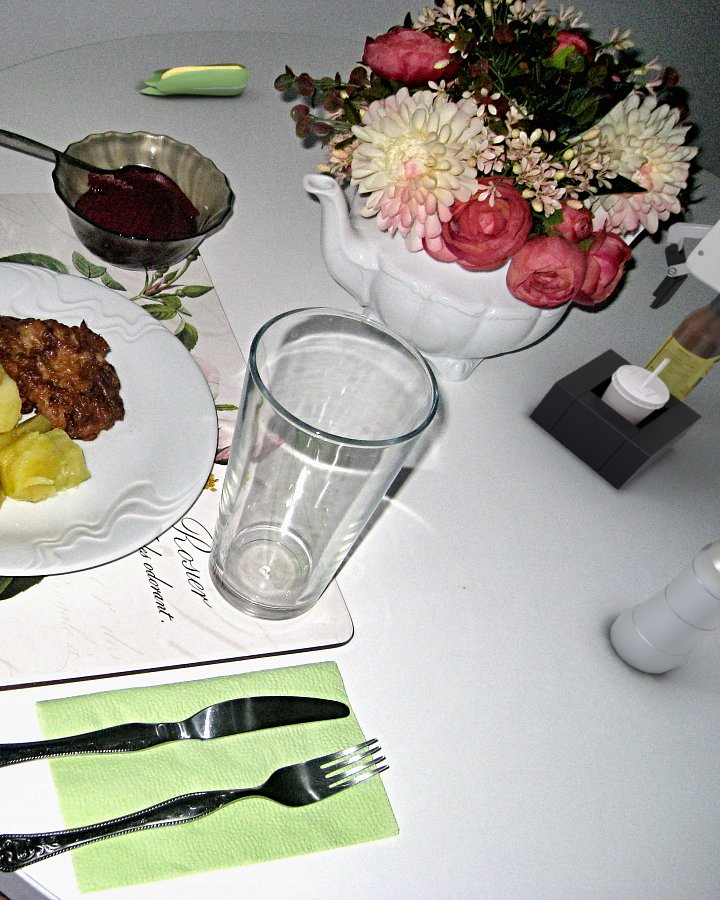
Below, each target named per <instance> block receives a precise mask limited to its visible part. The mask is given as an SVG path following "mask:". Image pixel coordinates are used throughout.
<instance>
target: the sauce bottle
mask: <svg viewBox="0 0 720 900" xmlns="http://www.w3.org/2000/svg"><path fill="white" fill-rule="evenodd" d="M665 358H669V359H670V362H669V363H668V364H667V365H666V366H665V367H664V368H663V370H662V371H661V372H660V373H659V374H658V375H657V377H658V378H660V379H661V380H662V381H663V382H664V384H665V385H666V386H667V388H668V390H669V392H670V393H671V394H672V395H674V396H675V397H676V398H678V399H679V400H680V401H682V402H683V403H684V401H685V400H686V398H687V397H689V395H690V394H691V393H692V392H693V391H694V390H695V388H697V386H698V385H699V384H701V382H702V381H703V380H704V379H705V378H706V377H707V375H708V374H709V373H710V372H711V371H712V370H713V369H714V367H716V365H717V364H718V363H719V362H720V293H719V292H718V294H717V295H716V296H715V297H714V298H712V300H711V301H710V302H709V303H708V304H706V305H705V306H702V307H700V308H696V309H694V310H692V311H690V313H688V314H687V315H686V316H685V317H684V318H683V320H682V321H681V322H680V323H679V325H678V326H677V327H676V328H675V329H673V330H672V332H671V333H670V334H669V335H668V337H667V338H665V340H664V341H663V342H662V343H661V344H660V346H659V347H658V349H656V351H655V352H654V353H653V355H652V356H651V357H650V358H649V359H648V361H647V362H646V363H645V364H644V365H643V366H642V368H644V369H646V370H648V371H650V372H652V373H653V372H654V371H655V370H656V368H657V367H658V366H659V365H660V364H661V363H662V362H663V361H664V359H665Z"/></svg>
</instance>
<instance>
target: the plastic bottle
mask: <svg viewBox="0 0 720 900" xmlns="http://www.w3.org/2000/svg"><path fill="white" fill-rule="evenodd" d="M718 629H720V539H719V540H715V541H713V542H710V543H707V544H706V545H704V546H703V547H702V548H701V549H700V550H699V551H698V552H697V553H696V554H695V555H694V556H693V557H692V559H691V560H690V561H689V562H688V563H687V565H686V566H685V567H684V568H683V570H682V571H681V572H680V573H679V574H678V575H676V576H675V578H673V579H672V580H671V581H670V583H668V584H667V585H665V587H664V588H663V589H662V590H660V591H658V592H657V593H655V594H653V595H652V596H651V597H649V598H647V599H646V600H644V601H643V602H641V603H638V604H635V605H634V606H632V607H629V608H628V609H626V610H625V611H623V612H622V613H620V614H619V616H618V617H617V618H616V619H615V621H614V622H613V624H612V625H611V626H610V642H611V644H612V647H613V648H614V650H615V652H616V653H617V655H618V656H619V657H620V658H621V659H622V660H623V661H624V662H625V663H627V664H628V665H629V666H631V667H633V668H634V669H636V670H638V671H640V672H644V673H647V674H655V675H656V674H663V673H665V672H668V671H670V670H673V669H676V668H677V667H679V666H680V665H681V664H682V663H683V662H684V661H685V660H686V659H687V658H688V657H689V655H690V654H691V652H692V651H693V650H694V649H695V648H696V647H697V646H698V645H700V643H702V641H703V640H705V639H706V638H707V637H708V636H709V635H711V633H713V632H715V631H716V630H718Z"/></svg>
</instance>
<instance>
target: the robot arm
mask: <svg viewBox="0 0 720 900" xmlns="http://www.w3.org/2000/svg"><path fill="white" fill-rule="evenodd" d="M685 238H686V239H696V240H700V241H699V243H697V245H696V246H695V248H694V249H693V250H692V251H691V252H690V254H689V255H688V257H687V256H686V251H685V246H684V242H685ZM664 256H665V261H666V265H667V268H665V269H666V270H665V274H666V275H665V277H664V278H663V279H662V281H661V282H660V284H659V285H658V286H657V287H656V288H655V290H654V291H653V292H652V296H653V297H655V298H654V299H653V301H652V302H651V303H650V305H649V308H651V309H652V310H659V309H660V308H662V307H664V306H665V305H666V304H668V303H669V302H670V300H671V299H672V298H673V296H674V295H675V294H676V293H677V292H678V290H679V289H680V288H681V286H682V285H683V284H684V283H685V282H686V280H687V279H688V278H689V274H691V275H692V276H693V277H694V278H696V279H697V280H698V281H700V282H701V283H703V284H705V285H706V286H708V287H709V288H711V289H713V290H714V291H716V292H717V293H718V294H719V293H720V219H719V220H718V221H717V222H716V223H715V224H714V225H713V224H703V223H691V222H681V221H680V222H676V223H674V224H671V225H670V226H669V227H668V231H667V238H666V246H665V248H664Z"/></svg>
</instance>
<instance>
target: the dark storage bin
mask: <svg viewBox="0 0 720 900" xmlns="http://www.w3.org/2000/svg"><path fill="white" fill-rule="evenodd" d="M624 365H633V364H632V363H631V362H629V361H628V360H627V359H625V358H624V357H623V356H622V355H620V354H619V353H617V352H616V351H615V350H614V349H612V348H609V349H607V350H606V351H604V352H602V353H601V354H599V355H598V356H596V357H594V358H593V359H591V360H589V361H588V362H586V363H584V364H582V365H581V366H580V367H578V368H577V369H575V370H573V371H572V372H570V373H568V374H567V375H565V376H564V377H562V378H560V379H558V380H557V381H555V383H554V384H552V386H551V388H550V389H549V390H548V391H547V393H546V394H545V395H544V396H543V398H542V399H541V400H540V401H539V403H538V404H537V405H536V407H535V408H534V409H533V411H532V412H531V413H530V414H529V415H528V418H529V419H530V420H532V421H533V422H534V423H535V424H537V426H539V427H540V428H541V429H543V430H544V432H546V433H548V434H549V435H550V436H551V437H552V438H554V439H555V441H557V442H558V443H560V444H561V445H562V446H563V447H564V448H565V449H567V450H568V451H569V452H570V453H572V454H573V455H574V456H575V457H576V458H578V459H579V460H580V461H581V462H583V463H584V464H585V465H586V466H587V467H589V468H590V469H591V470H592V471H594V472H595V473H596V474H597V475H598V476H599V477H601V478H602V479H603V480H605V481H606V482H607V483H608V484H610V485H611V486H612V487H613V488H614V489H615V490H616V491H619V490H620V489H622V488H623V487H624V486H626V485H627V484H628V483H630V482H631V481H632V480H633V479H634V478H635V477H637V476H638V475H640V474H641V473H642V472H643V471H644V470H646V469H647V468H648V467H649V466H651V465H652V464H653V463H655V462H656V461H657V460H659V459H660V458H662V457H663V456H664V455H665V454H666V453H667V452H669V451H670V450H671V449H672V448H673V447H674V446H675V445H676V444H677V443H678V442H679V441H680V440H681V439H683V437H684V436H685V435H686V434H687V433H688V432H689V431H690V430H692V428H693V427H694V426H695V425H696V424H697V423H698V422H699V421H700V420H701V419H702V417H703V416H702V415H700V414H699V413H698V412H697V411H695V410H694V409H693V408H691V407H690V406H688V404H686V403H684V401H683V402H682V401H680V400H679V399H678V398H676V397H675V396H674V395H672V394H671V393H670V392H669V395H670V396H669V399H668V401H667V402H666V403H665V404H664V406H663V407H661V408H659V409H655V410H654V411H652V412H651V413H650V414H649V415H648V416H646V417H645V418H644V419H643V420H641V421H640V422H639V423H638V424H637V425H633V424H632V423H631V422H630V421H628V420H627V419H626V418H624V417H623V416H622V415H621V414H619V413H618V412H617V411H615V410H614V409H613V408H612V407H610V406H609V405H608V404H606V403H605V402H604V401H603V400H601V398H602V396H603V395H604V393H605V391H606V390H607V388H608V387H609V385H610V383H611V382H612V375H613V374H614V373H615V372H616V371H617V370H618V369H619V368H620V367H621V366H624Z"/></svg>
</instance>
